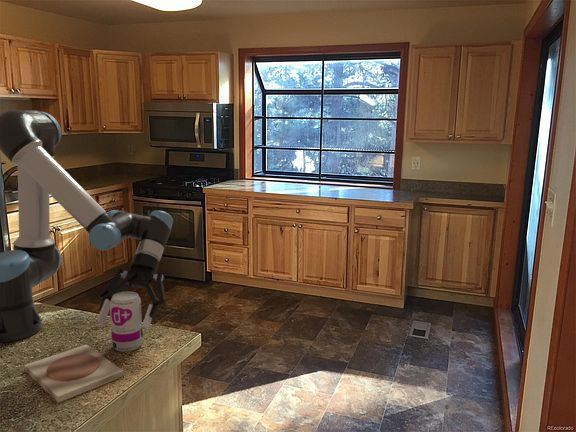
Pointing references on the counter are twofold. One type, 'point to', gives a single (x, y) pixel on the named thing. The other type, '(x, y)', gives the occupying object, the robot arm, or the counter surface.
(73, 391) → the mount board
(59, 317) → the counter surface
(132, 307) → the supplement can
